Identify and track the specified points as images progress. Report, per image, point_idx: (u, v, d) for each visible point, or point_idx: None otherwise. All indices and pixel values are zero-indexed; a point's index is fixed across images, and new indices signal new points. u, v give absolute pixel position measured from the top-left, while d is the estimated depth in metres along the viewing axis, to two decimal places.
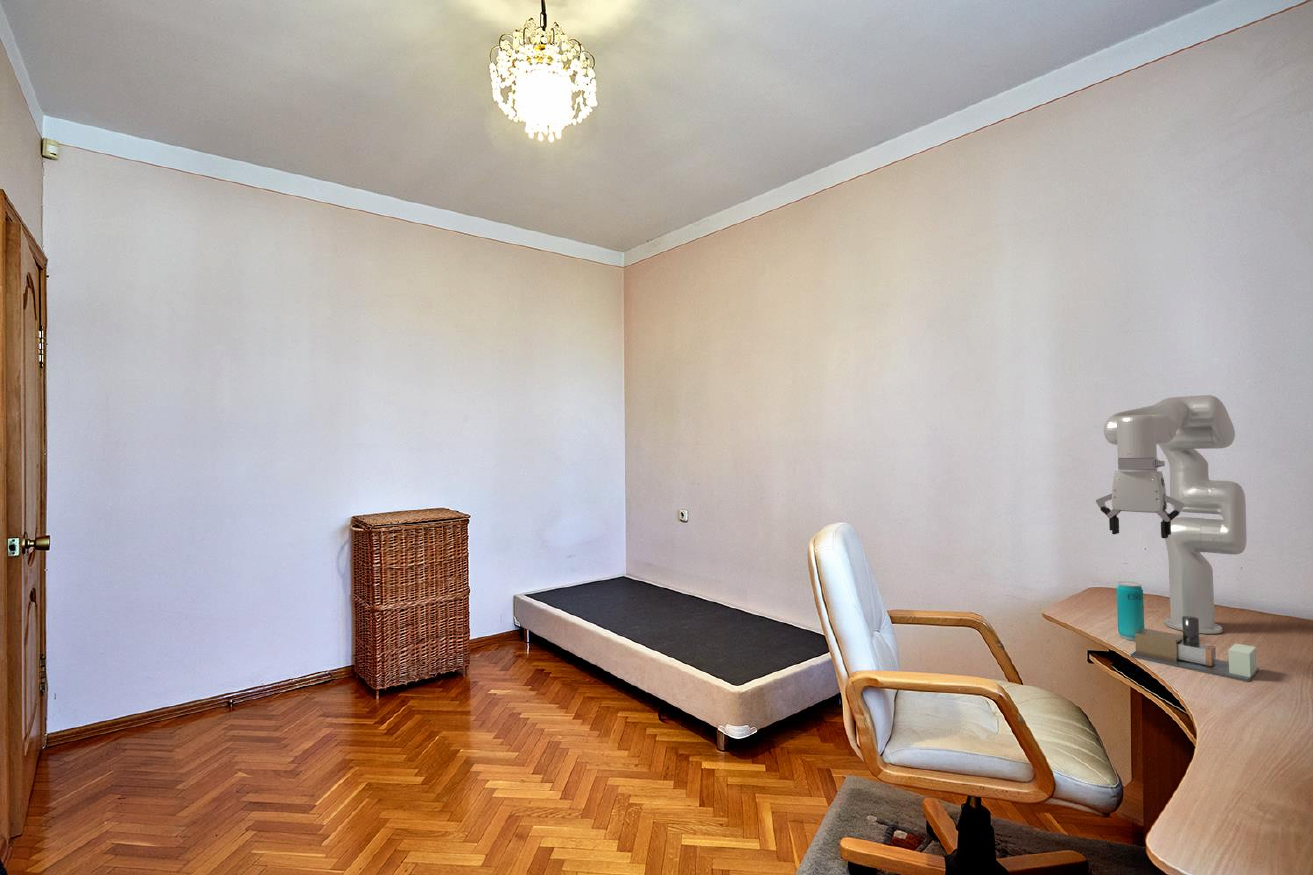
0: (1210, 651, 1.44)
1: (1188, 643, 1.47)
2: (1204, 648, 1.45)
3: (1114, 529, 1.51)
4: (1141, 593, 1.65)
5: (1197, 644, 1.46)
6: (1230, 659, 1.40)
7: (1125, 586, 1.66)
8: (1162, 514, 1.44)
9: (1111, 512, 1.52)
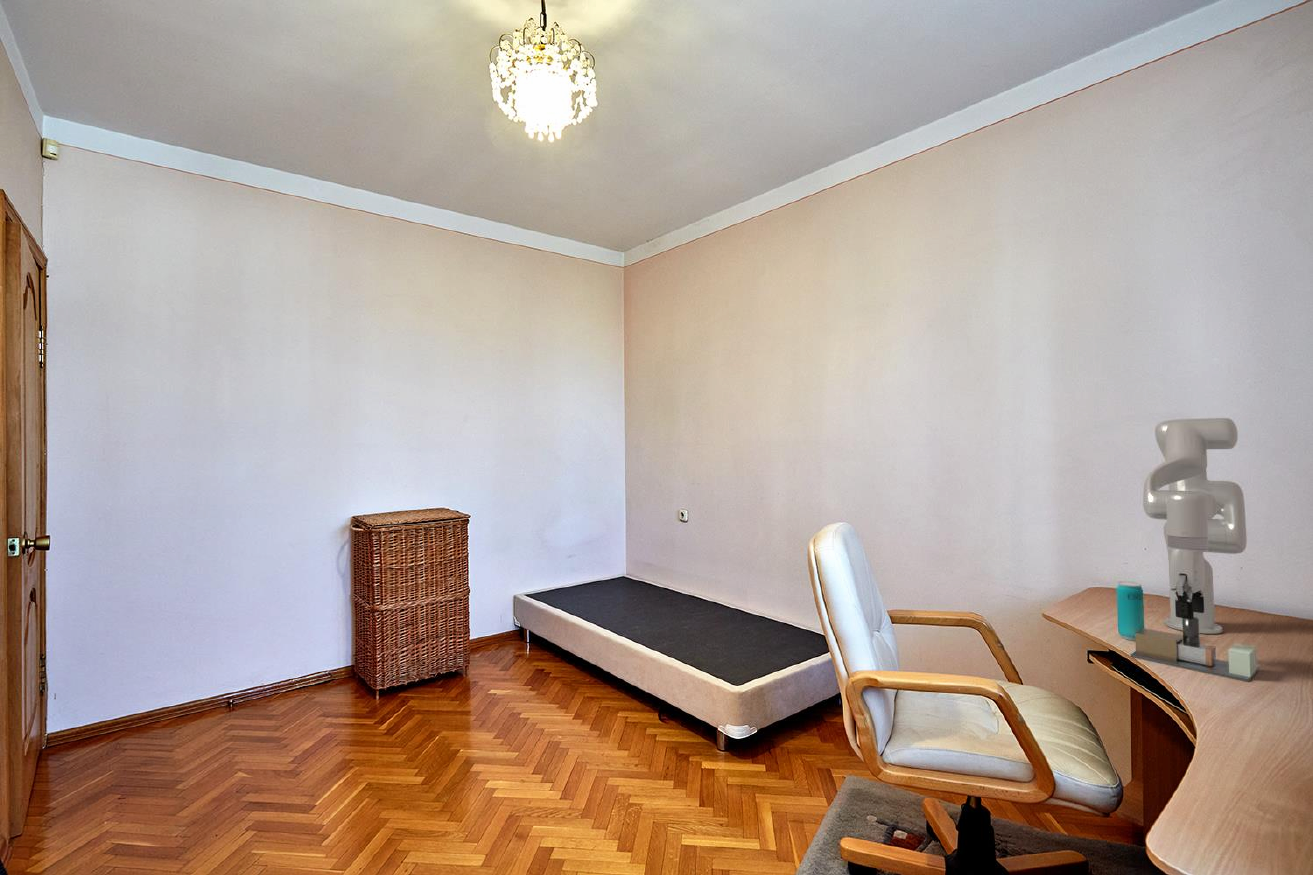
0: (1210, 651, 1.44)
1: (1188, 643, 1.47)
2: (1204, 648, 1.45)
3: (1192, 614, 1.44)
4: (1141, 593, 1.65)
5: (1197, 644, 1.46)
6: (1230, 659, 1.40)
7: (1125, 586, 1.66)
8: (1201, 589, 1.50)
9: (1190, 596, 1.44)
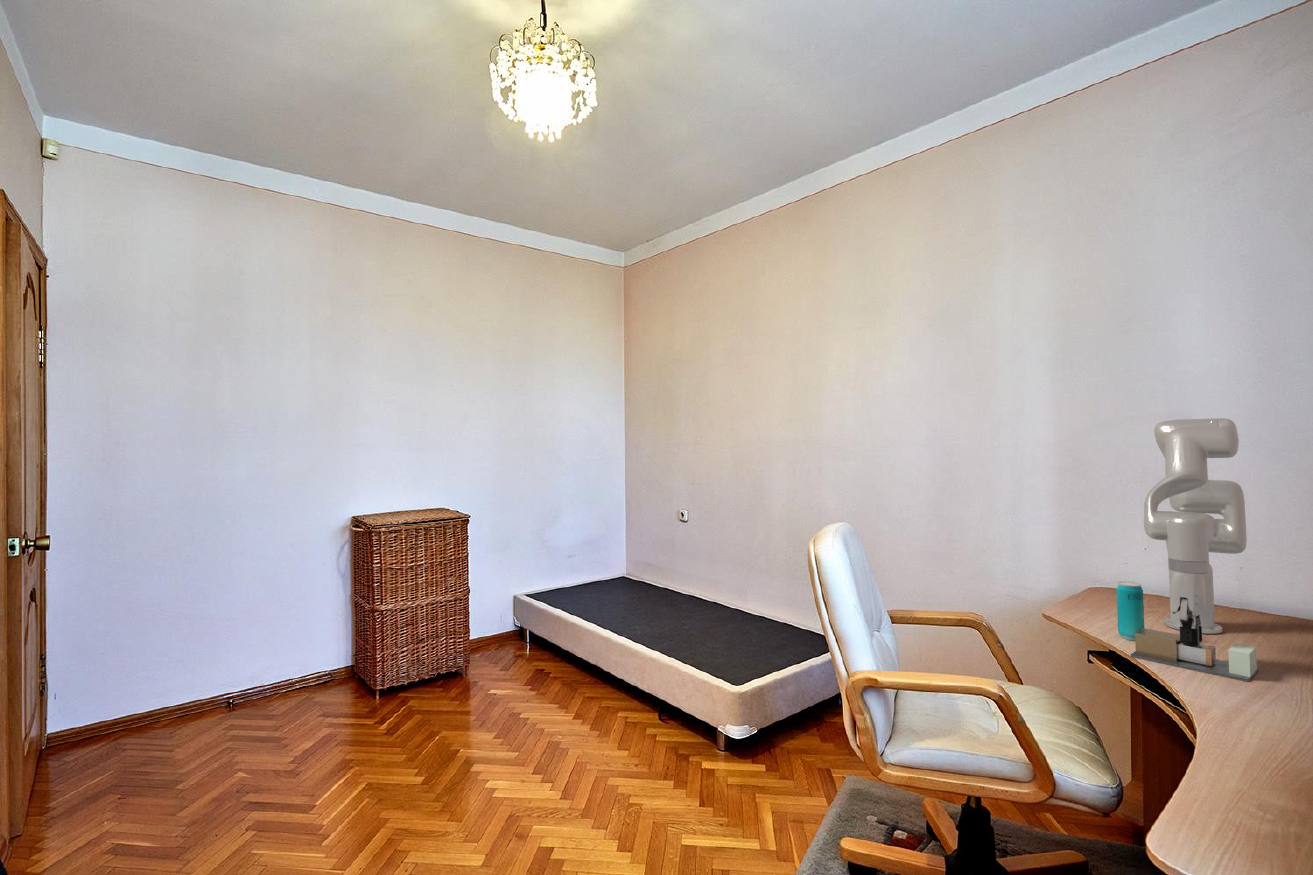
0: (1210, 651, 1.44)
1: None
2: (1204, 648, 1.45)
3: (1197, 640, 1.46)
4: (1141, 593, 1.65)
5: None
6: (1230, 659, 1.40)
7: (1125, 586, 1.66)
8: (1200, 617, 1.48)
9: (1194, 623, 1.45)
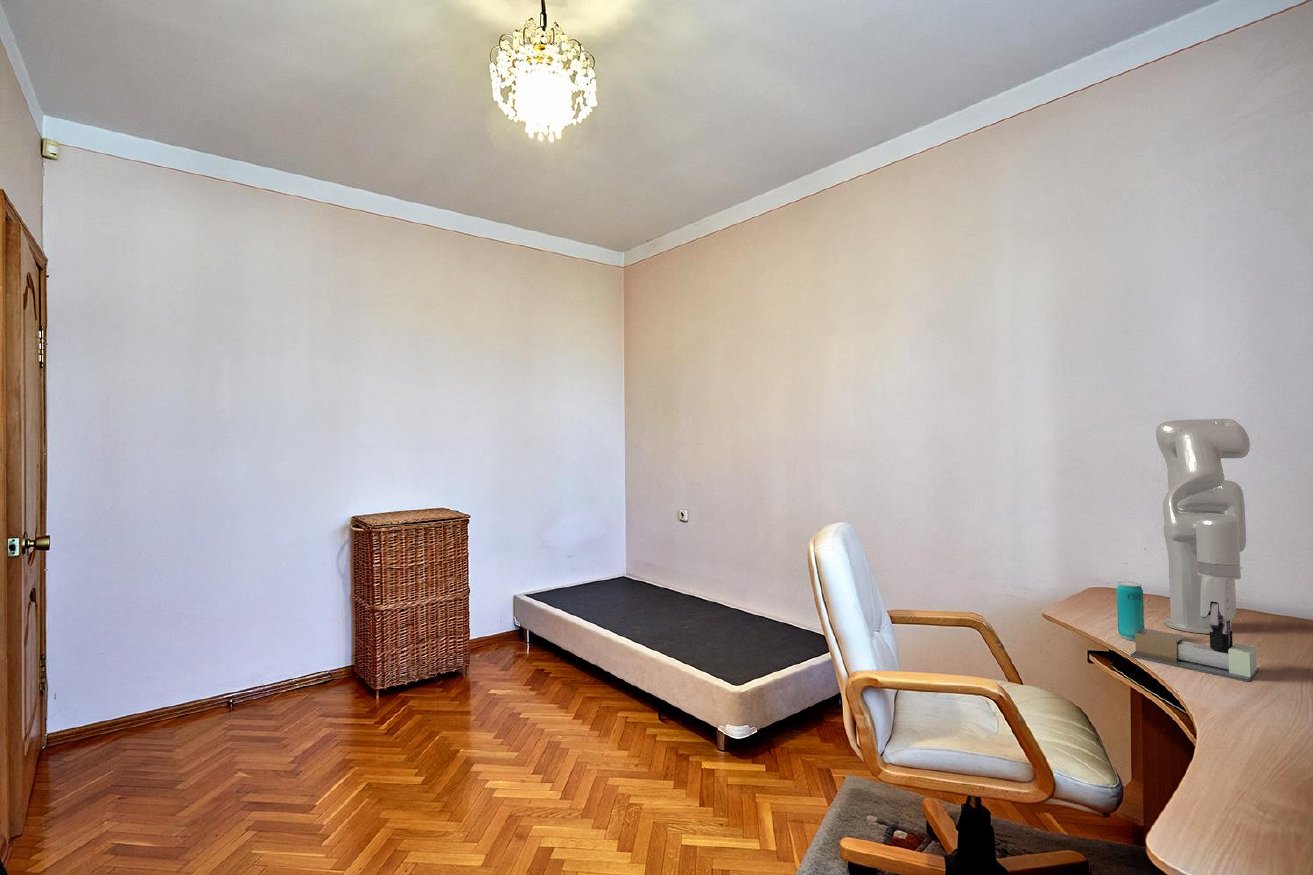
0: None
1: None
2: None
3: None
4: (1141, 593, 1.65)
5: None
6: (1230, 659, 1.40)
7: (1125, 586, 1.66)
8: (1230, 622, 1.44)
9: (1225, 628, 1.41)
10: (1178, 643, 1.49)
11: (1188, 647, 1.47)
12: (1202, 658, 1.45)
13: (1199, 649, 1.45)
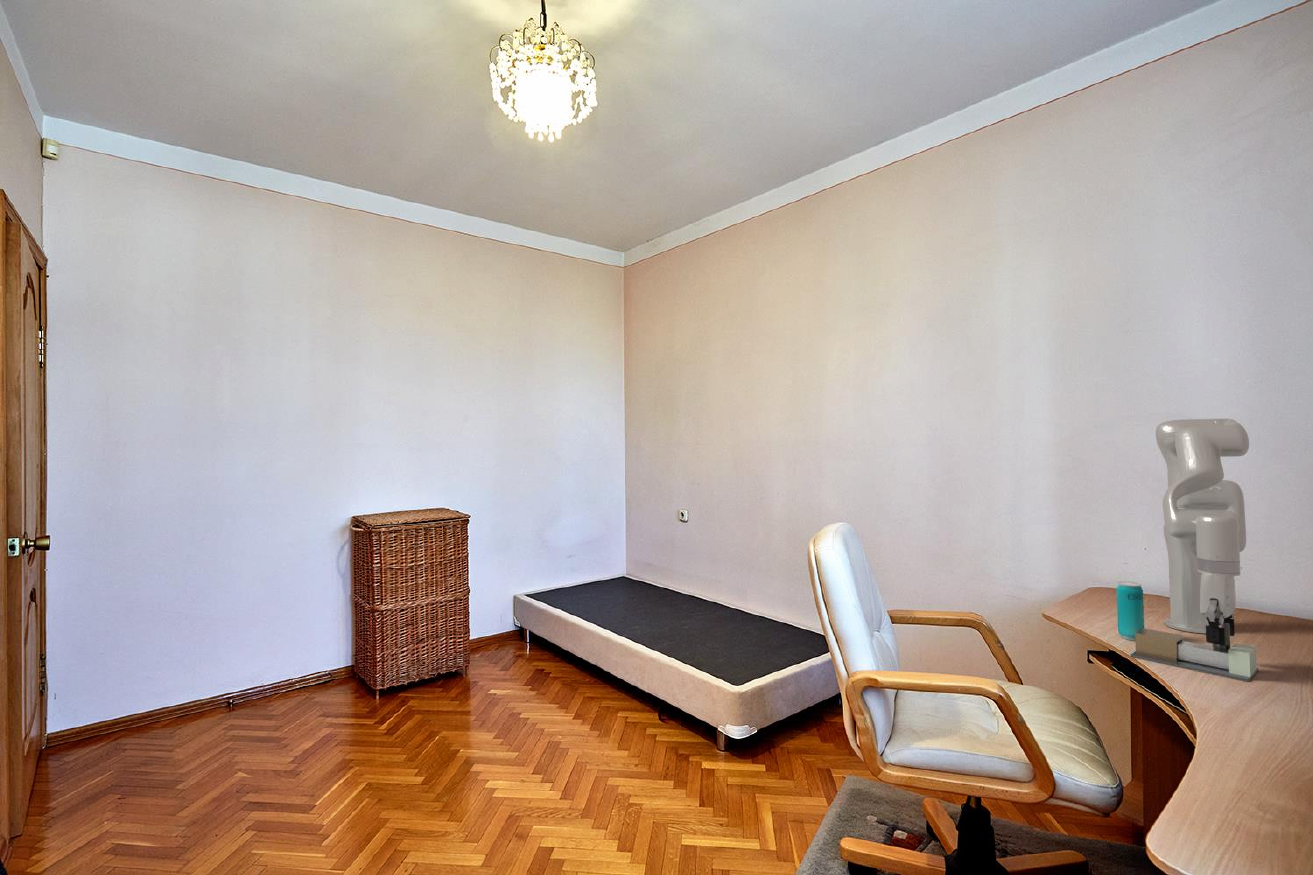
0: None
1: (1218, 649, 1.43)
2: None
3: None
4: (1141, 593, 1.65)
5: None
6: (1230, 659, 1.40)
7: (1125, 586, 1.66)
8: None
9: (1222, 621, 1.40)
10: (1178, 643, 1.49)
11: (1188, 647, 1.47)
12: (1202, 658, 1.45)
13: (1199, 649, 1.45)
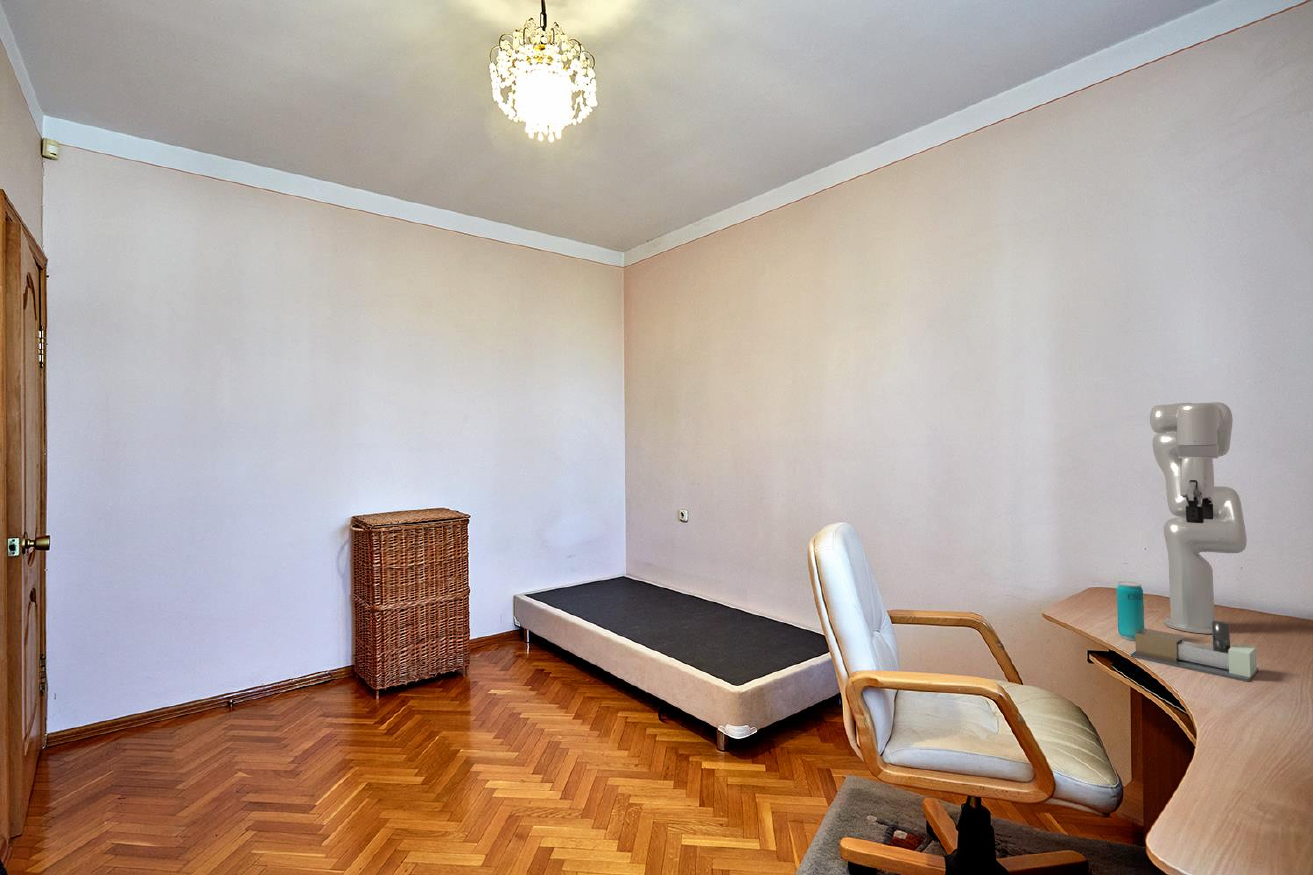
0: None
1: (1218, 649, 1.43)
2: None
3: None
4: (1141, 593, 1.65)
5: None
6: (1230, 659, 1.40)
7: (1125, 586, 1.66)
8: (1211, 497, 1.54)
9: (1201, 501, 1.48)
10: (1178, 643, 1.49)
11: (1188, 647, 1.47)
12: (1202, 658, 1.45)
13: (1199, 649, 1.45)
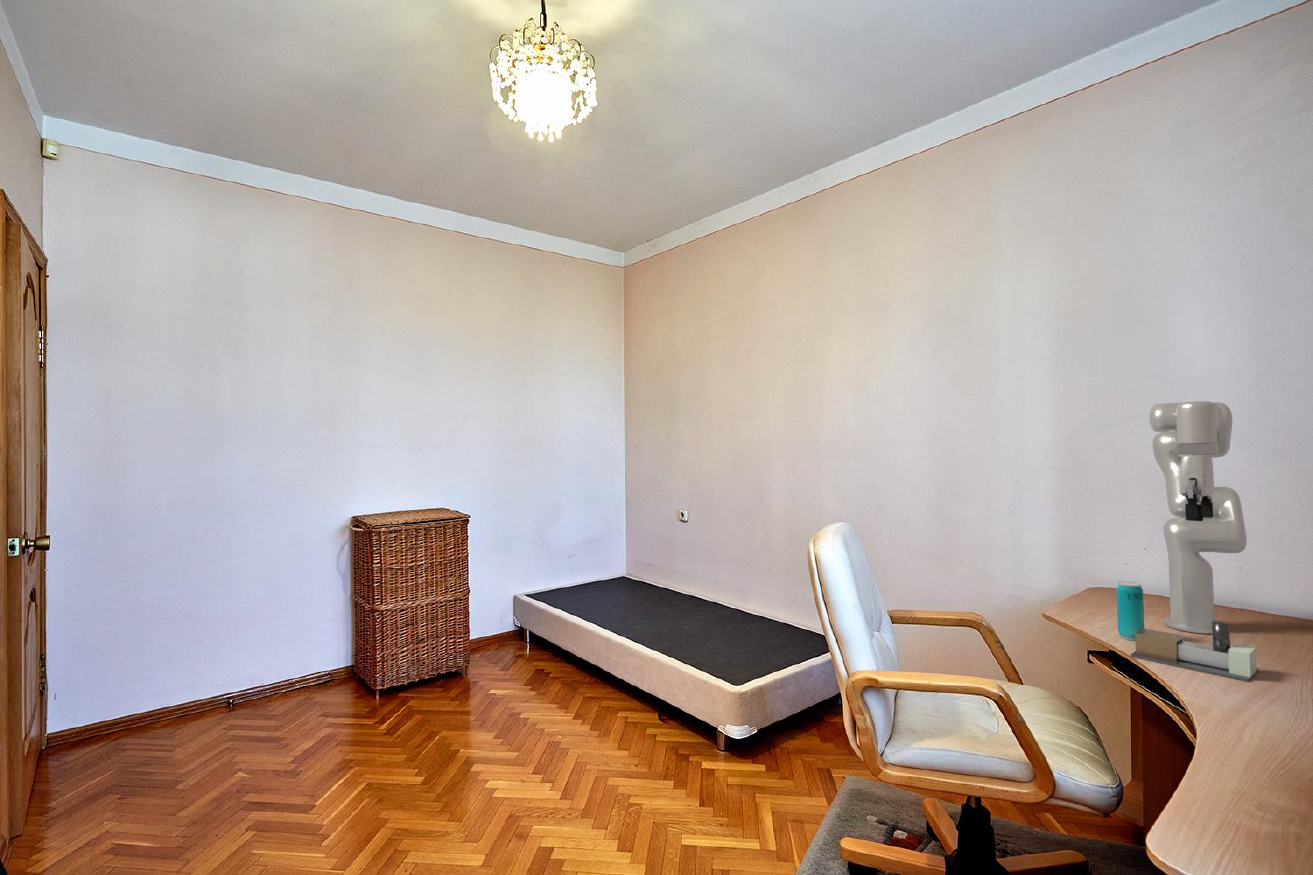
0: None
1: (1218, 649, 1.43)
2: None
3: None
4: (1141, 593, 1.65)
5: None
6: (1230, 659, 1.40)
7: (1125, 586, 1.66)
8: (1210, 495, 1.54)
9: (1200, 499, 1.48)
10: (1178, 643, 1.49)
11: (1188, 647, 1.47)
12: (1202, 658, 1.45)
13: (1199, 649, 1.45)
